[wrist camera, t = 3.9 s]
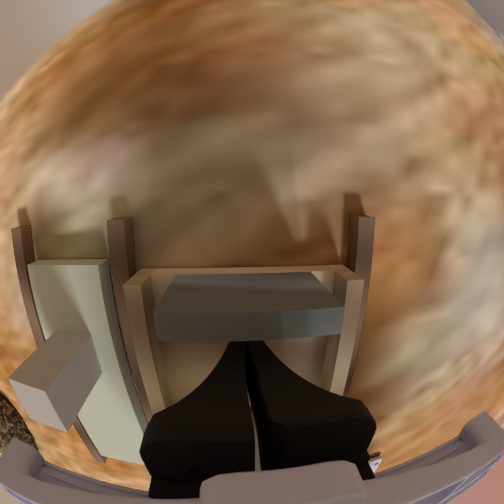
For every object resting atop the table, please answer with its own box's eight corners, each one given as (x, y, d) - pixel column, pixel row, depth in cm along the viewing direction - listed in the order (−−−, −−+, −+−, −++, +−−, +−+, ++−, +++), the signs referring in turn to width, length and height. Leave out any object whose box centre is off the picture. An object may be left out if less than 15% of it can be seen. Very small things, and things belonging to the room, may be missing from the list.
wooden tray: (305, 466, 17) (318, 510, 12) (187, 471, 16) (183, 517, 12) (342, 264, 13) (394, 301, 8) (141, 268, 12) (97, 310, 8)
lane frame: (320, 460, 17) (323, 468, 16) (99, 453, 16) (96, 461, 15) (365, 215, 13) (374, 217, 12) (21, 226, 11) (11, 228, 10)
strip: (160, 455, 16) (149, 516, 10) (105, 445, 15) (85, 499, 9) (108, 258, 12) (35, 306, 6) (39, 259, 12) (-34, 295, 6)
